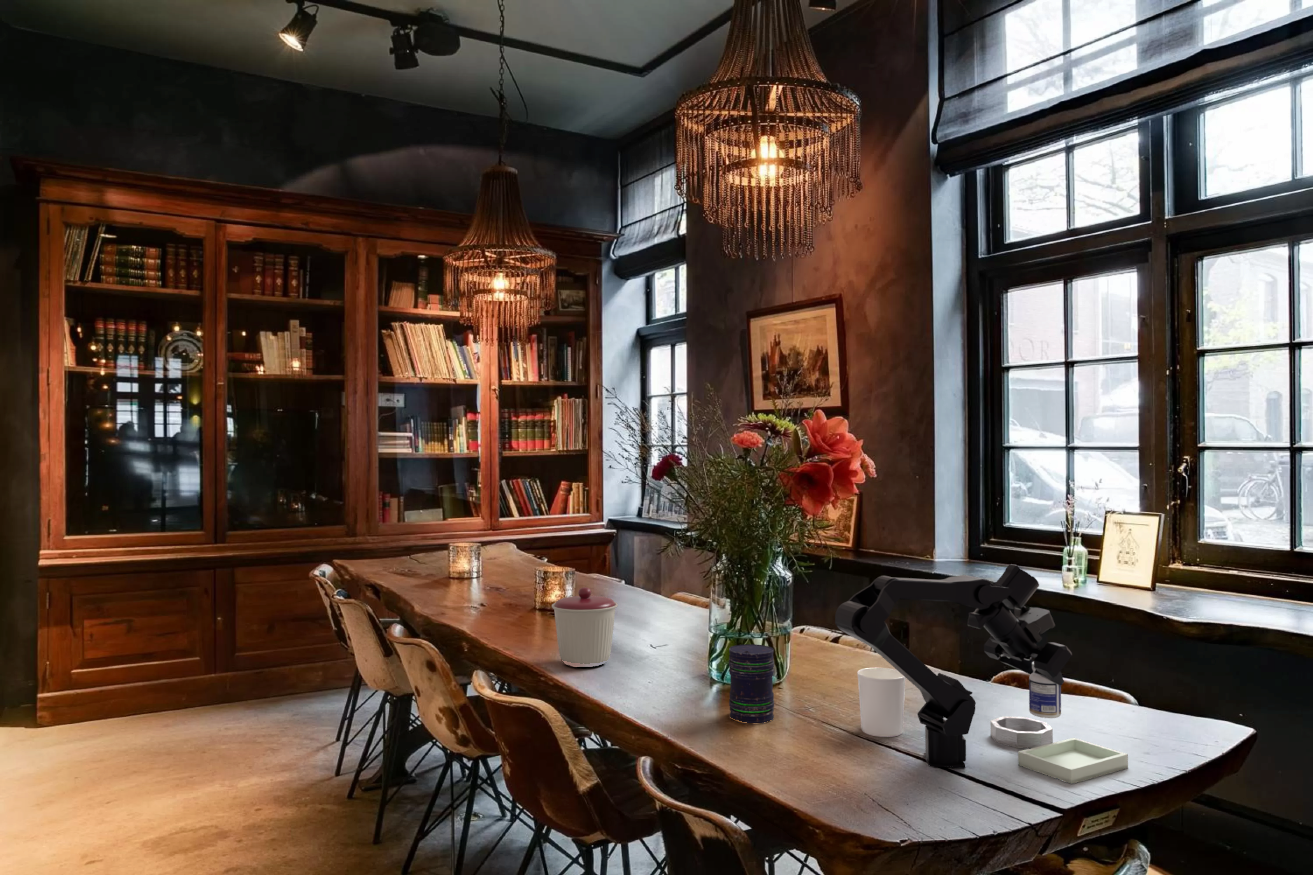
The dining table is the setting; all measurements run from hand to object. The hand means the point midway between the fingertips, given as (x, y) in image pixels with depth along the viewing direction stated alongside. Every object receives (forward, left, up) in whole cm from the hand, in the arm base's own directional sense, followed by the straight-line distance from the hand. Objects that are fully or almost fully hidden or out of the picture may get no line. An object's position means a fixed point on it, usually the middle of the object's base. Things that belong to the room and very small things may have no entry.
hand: (1050, 679), depth 175 cm
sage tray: (+1, -10, -13) cm, 17 cm away
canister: (-104, +60, -14) cm, 121 cm away
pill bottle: (-1, -1, -7) cm, 7 cm away
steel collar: (-4, +5, -13) cm, 15 cm away
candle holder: (-31, +8, -14) cm, 35 cm away
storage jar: (-58, +15, -14) cm, 62 cm away
